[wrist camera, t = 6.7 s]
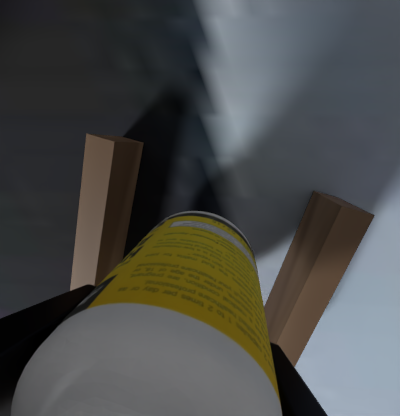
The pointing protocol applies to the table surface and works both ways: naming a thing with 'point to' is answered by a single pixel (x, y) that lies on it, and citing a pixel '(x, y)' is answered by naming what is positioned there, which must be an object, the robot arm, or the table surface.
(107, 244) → the walled lane
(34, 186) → the table surface
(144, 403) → the supplement bottle
